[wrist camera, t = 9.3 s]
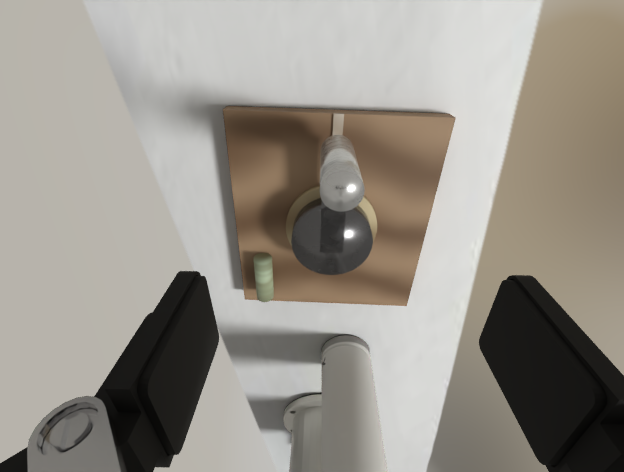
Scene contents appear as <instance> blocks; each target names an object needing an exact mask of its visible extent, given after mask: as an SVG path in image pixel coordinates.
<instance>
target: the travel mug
mask: <svg viewBox="0 0 624 472" xmlns="http://www.w3.org/2000/svg"><path fill="white" fill-rule="evenodd" d="M321 472H388V470H387V464H386V457H385V450H384V444H383V437H382V430H381V424H380V417H379V410H378V404H377V397H376V390H375V384H374V377H373V370H372V364H371V357H370V350H369V347H368V345H367V344H366V342H365V341H363V340H362V339H360V338H358V337H355V336H350V335H343V336H337V337H334V338H332V339H330V340H328V341H327V342H326V343H325V344H324V346H323V348H322V458H321Z"/></svg>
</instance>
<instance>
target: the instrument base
mask: <svg viewBox="0 0 624 472" xmlns="http://www.w3.org/2000/svg"><path fill="white" fill-rule="evenodd" d="M223 115H224V123H225V132H226V141H227V149H228V158H229V166H230V175H231V184H232V192H233V201H234V209H235V218H236V227H237V235H238V244H239V252H240V261H241V270H242V278H243V287H244V295H245V299H248V300H259V301H262V302H268V301H270V300H273V301H298V302H322V303H347V304H372V305H397V306H407V302H408V299H409V295H410V291H411V287H412V283H413V279H414V276H415V272H416V268H417V264H418V260H419V256H420V253H421V249H422V245H423V241H424V237H425V233H426V229H427V226H428V222H429V218H430V214H431V210H432V206H433V203H434V199H435V195H436V191H437V187H438V183H439V180H440V176H441V172H442V168H443V164H444V160H445V156H446V153H447V149H448V145H449V141H450V137H451V133H452V130H453V126H454V122H455V117H453V116H452V115H450V114H442V113H413V112H385V111H357V110H329V109H300V108H272V107H244V106H227V107H226V108H224V109H223ZM333 135H343V136H345V137H347V138H348V139H349V140H350V141H351V143H352V145H353V148H354V151H355V155H356V159H357V162H358V166H359V169H360V173H361V177H362V180H363V184H364V189H365V192H364V196H363V199H362V201H361V202H360V203H359V204H358V205H359V206H360V207H361V208H362V209H363V211H364V212H365V213H366V215H367V217H368V220H369V224H370V228H371V231H372V235H373V245H372V249H371V252H370V254H369V256H368V257H367V259H366V260H365V261H364V262H363V263H362V264H361V265H360V266H359V267H357V268H356V269H354V270H352V271H350V272H347V273H343V274H338V275H324V274H319V273H316V272H314V271H311V270H309V269H308V268H306V267H305V266H303V265H302V264H301V263H300V262H299V261H298V259H297V258H296V256H295V255H294V252H293V250H292V245H291V238H292V231H293V225H294V221H295V218H296V216H297V214H298V213H299V212H300V210H301V209H302V208H303V207H304V206H305V205H307V204H308V203H310V202H311V201H313V200H316V199H318V198H321V197H320V151H321V146H322V144H323V142H324V141H325V140H326V139H327V138H328V137H330V136H333Z"/></svg>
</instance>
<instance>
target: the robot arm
mask: <svg viewBox="0 0 624 472" xmlns="http://www.w3.org/2000/svg"><path fill="white" fill-rule="evenodd" d="M218 342H219V333H218V329H217V324H216V320H215V316H214V311H213V307H212V302H211V298H210V294H209V289H208V285H207V281H206V278H205V276H201V275H200V273H199V272H197V271H180V272H178V274H177V275H176V277H175V278H174V280H173V282H172V283H171V285H170V286H169V288H168V289H167V291H166V293H165V294H164V296H163V297H162V299H161V300H160V302H159V303H158V305H157V307H156V308H155V310H154V312H153V313H150V314H148V315H147V317H146V318H145V319H144V321H143V322H142V324H141V325H140V327H139V328H138V330H137V331H136V333H135V335H134V336H133V338H132V339H131V341H130V342H129V344H128V345H127V347H126V349H125V350H124V352H123V353H122V355H121V356H120V358H119V359H118V361H117V362H116V364H115V366H114V367H113V369H112V370H111V372H110V373H109V375H108V376H107V378H106V380H105V381H104V383H103V385H102V386H101V387H100V389H99V390H98V392H97V393H96V395H95V396H94V397H91V396H84V397H78V398H75V399H72V400H70V401H68V402H65V403H63V404H62V405H60V406H59V407H57V408H55V409H54V410H53V411H51V412H50V413H49V414H48V415H47V416H46V417H44V418H43V420H42V421H41V422H40V423H39V424H38V425H37V427H36V428H35V430H34V431H33V433H32V435H31V437H30V439H29V443H28V447H27V448H25V449H24V450H22V451H20V452H19V453H17V454H15V455H14V456H12V457H10V458H9V459H7V460H5V461H4V462H2V463H0V472H153V470H154V468H155V467H170V464H171V461H172V458H173V456H174V455H177V454H179V453H180V451H181V449H182V447H183V444H184V441H185V438H186V435H187V432H188V429H189V427H190V424H191V421H192V418H193V415H194V412H195V409H196V406H197V404H198V401H199V398H200V395H201V392H202V389H203V386H204V383H205V381H206V378H207V375H208V372H209V369H210V366H211V363H212V360H213V357H214V355H215V352H216V348H217V345H218ZM479 345H480V349H481V351H482V353H483V355H484V357H485V359H486V361H487V363H488V365H489V367H490V369H491V371H492V373H493V375H494V377H495V378H496V380H497V382H498V384H499V386H500V388H501V390H502V392H503V394H504V396H505V398H506V400H507V401H508V403H509V405H510V407H511V409H512V411H513V413H514V415H515V417H516V419H517V421H518V423H519V425H520V427H521V429H522V431H523V433H524V434H525V436H526V438H527V440H528V442H529V444H530V446H531V448H532V450H533V452H534V454H535V456H536V457H537V459H538V460H539V462H540V463H542V464H543V465H546V467H547V469H548V471H549V472H624V376H623V375H622V373H621V372H620V371H619V370H618V369H617V368H616V367H615V366H614V365H613V363H612V362H611V361H610V360H609V359H608V358H607V357H606V356H605V355H604V354H603V352H602V351H601V350H600V349H599V348H598V347H597V346H596V345H595V344H594V343H593V341H592V340H591V339H590V338H589V337H588V336H587V335H586V334H585V333H584V332H583V331H582V330H581V328H580V327H579V326H578V325H577V324H576V323H575V322H574V321H573V319H572V318H571V317H569V315H568V314H567V313H566V312H565V311H564V310H563V309H562V307H561V306H560V305H559V304H558V303H557V302H556V301H555V300H554V299H553V298H552V296H551V295H550V294H549V293H548V292H547V291H546V290H545V289H544V288H543V287H542V286H541V285H540V283H539V282H538V281H537V280H536V279H535V278H534V277H533V276H522V275H512V276H509V277H508V278H507V280H504V281H502V283H501V285H500V288H499V290H498V293H497V295H496V298H495V300H494V303H493V305H492V308H491V310H490V313H489V316H488V318H487V321H486V323H485V326H484V328H483V331H482V333H481V336H480V339H479ZM283 423H284V425H285V427H286V429H287V430H288V431H289V432H290V433H291V434H292V443H291V456H290V469H289V472H321V458H322V394H315V395H309V396H305V397H301V398H299V399H297V400H295V401H293V402H292V403H290V404H289V405H288V406H287V407H286V409H285V411H284V418H283Z"/></svg>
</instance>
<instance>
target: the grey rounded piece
mask: <svg viewBox="0 0 624 472" xmlns="http://www.w3.org/2000/svg"><path fill="white" fill-rule="evenodd" d="M364 192H365V189H364V184H363V180H362V177H361V173H360V169H359V166H358V162H357V159H356V155H355V151H354V148H353V145H352V143H351V141H350V140H349V139H348V138H347V137H345V136H343V135H333V136H330V137H328V138H327V139H326V140H325V141H324V142H323V144H322V146H321V151H320V197H321V198H318V199H316V200H313V201H311V202H310V203H308V204H307V205H305V206H304V207H303V208H302V209H301V210H300V212H299V213H298V214H297V216H296V218H295V221H294V225H293V231H292V238H291V245H292V250H293V252H294V255H295V256H296V258H297V259H298V261H299V262H300V263H301V264H302V265H303V266H305V267H306V268H308V269H309V270H311V271H314V272H316V273H319V274H324V275H338V274H343V273H347V272H350V271H352V270H354V269H356V268H357V267H359V266H360V265H361V264H362V263H363V262H364V261H365V260H366V259H367V257H368V256H369V254H370V252H371V249H372V245H373V235H372V231H371V228H370V224H369V220H368V217H367V215H366V213H365V212H364V211H363V209H362V208H361V207H360V206H359V205H358V204H359V203H360V202H361V201H362V199H363V196H364Z"/></svg>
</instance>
